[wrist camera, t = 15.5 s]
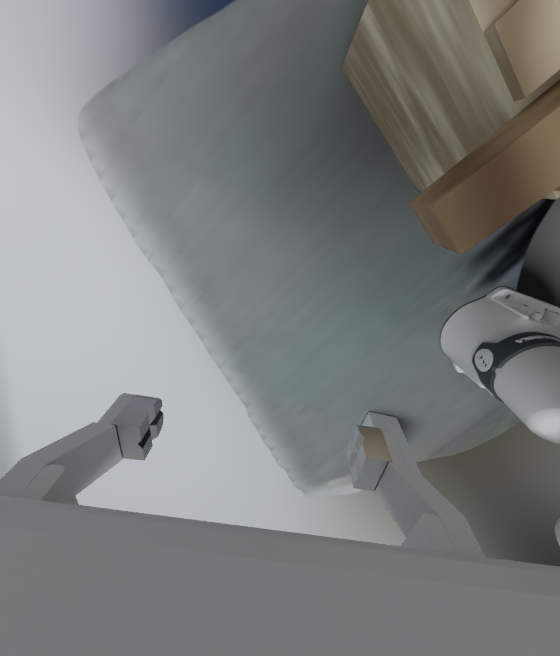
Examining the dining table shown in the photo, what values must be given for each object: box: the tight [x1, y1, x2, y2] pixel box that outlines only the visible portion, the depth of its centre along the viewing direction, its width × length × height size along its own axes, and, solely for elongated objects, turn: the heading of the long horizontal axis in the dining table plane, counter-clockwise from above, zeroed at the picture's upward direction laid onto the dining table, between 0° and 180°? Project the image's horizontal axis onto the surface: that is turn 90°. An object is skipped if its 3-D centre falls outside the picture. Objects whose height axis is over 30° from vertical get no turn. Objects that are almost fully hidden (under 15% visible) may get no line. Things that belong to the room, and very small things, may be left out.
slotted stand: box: [341, 0, 560, 199], centre depth 25 cm, size 16×20×27 cm
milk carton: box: [361, 412, 422, 476], centre depth 59 cm, size 7×7×19 cm
